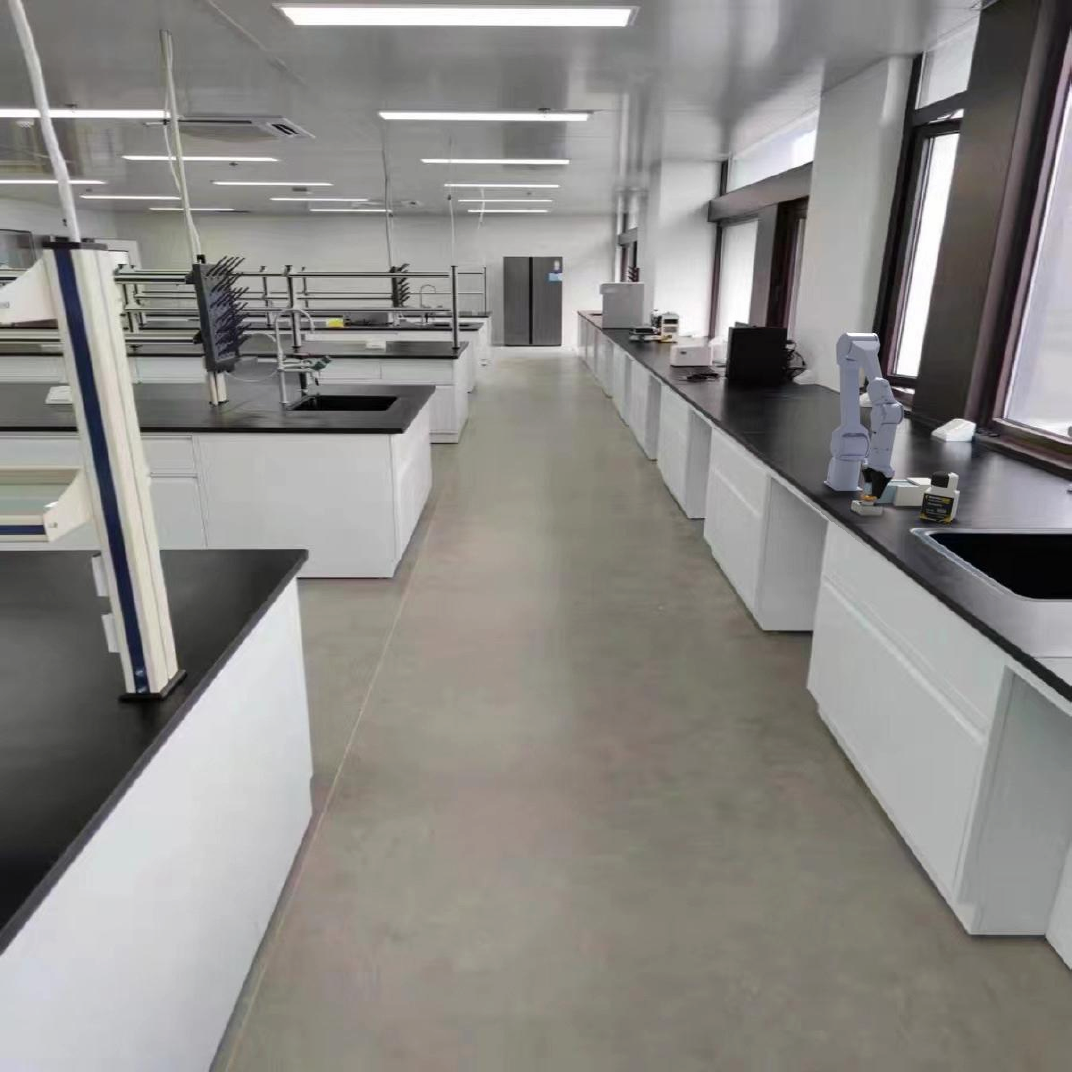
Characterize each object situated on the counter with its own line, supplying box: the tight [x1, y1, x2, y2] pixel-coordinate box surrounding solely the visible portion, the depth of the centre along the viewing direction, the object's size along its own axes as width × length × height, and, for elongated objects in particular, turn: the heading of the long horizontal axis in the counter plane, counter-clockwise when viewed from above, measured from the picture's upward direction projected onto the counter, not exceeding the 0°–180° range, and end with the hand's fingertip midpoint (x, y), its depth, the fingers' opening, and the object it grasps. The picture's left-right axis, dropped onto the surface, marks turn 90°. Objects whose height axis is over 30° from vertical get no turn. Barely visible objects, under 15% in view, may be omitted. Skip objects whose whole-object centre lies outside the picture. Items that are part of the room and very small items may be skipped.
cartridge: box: [863, 482, 918, 504], centre depth 210 cm, size 4×17×5 cm, turn 93°
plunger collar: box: [850, 500, 884, 516], centre depth 200 cm, size 6×6×2 cm
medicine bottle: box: [919, 470, 961, 523], centre depth 196 cm, size 7×7×12 cm
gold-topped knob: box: [860, 493, 877, 506], centre depth 200 cm, size 4×4×4 cm
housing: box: [889, 477, 931, 507], centre depth 210 cm, size 7×12×6 cm, turn 93°
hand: (873, 496), depth 210 cm, fingers closed on cartridge, 3 cm apart
